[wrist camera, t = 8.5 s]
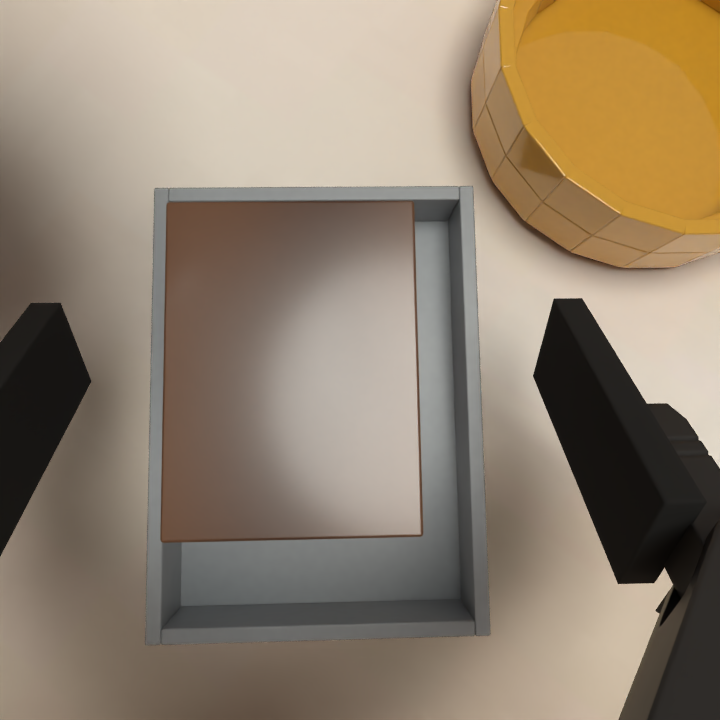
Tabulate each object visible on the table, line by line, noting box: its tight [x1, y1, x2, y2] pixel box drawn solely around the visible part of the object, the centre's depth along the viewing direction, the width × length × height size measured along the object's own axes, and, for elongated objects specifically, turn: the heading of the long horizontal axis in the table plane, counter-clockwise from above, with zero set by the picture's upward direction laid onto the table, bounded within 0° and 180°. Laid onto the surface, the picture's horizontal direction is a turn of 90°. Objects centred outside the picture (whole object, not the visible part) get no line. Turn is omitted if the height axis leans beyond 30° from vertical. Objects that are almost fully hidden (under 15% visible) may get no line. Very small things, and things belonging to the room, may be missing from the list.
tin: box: [145, 186, 491, 645], centre depth 20 cm, size 11×15×2 cm
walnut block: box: [160, 201, 423, 543], centre depth 15 cm, size 4×6×11 cm
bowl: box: [471, 0, 720, 268], centre depth 20 cm, size 13×13×4 cm
